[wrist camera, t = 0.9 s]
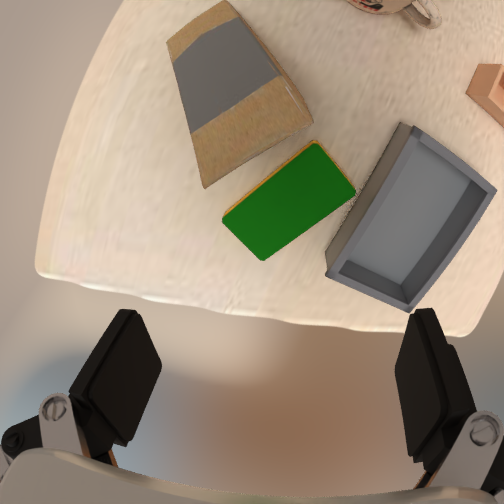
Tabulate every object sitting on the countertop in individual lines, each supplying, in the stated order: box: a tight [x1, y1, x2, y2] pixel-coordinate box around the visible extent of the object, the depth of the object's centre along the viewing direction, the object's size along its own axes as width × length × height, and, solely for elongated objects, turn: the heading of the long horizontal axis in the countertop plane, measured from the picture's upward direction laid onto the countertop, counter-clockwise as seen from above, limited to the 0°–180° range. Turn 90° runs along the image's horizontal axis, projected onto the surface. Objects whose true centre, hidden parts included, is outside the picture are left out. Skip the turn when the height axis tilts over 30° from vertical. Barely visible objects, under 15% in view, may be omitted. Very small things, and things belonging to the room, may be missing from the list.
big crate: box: [325, 122, 497, 313], centre depth 32 cm, size 18×12×5 cm
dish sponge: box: [222, 140, 356, 261], centre depth 35 cm, size 7×14×2 cm, turn 133°
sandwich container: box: [166, 0, 314, 189], centre depth 22 cm, size 9×15×15 cm, turn 34°
